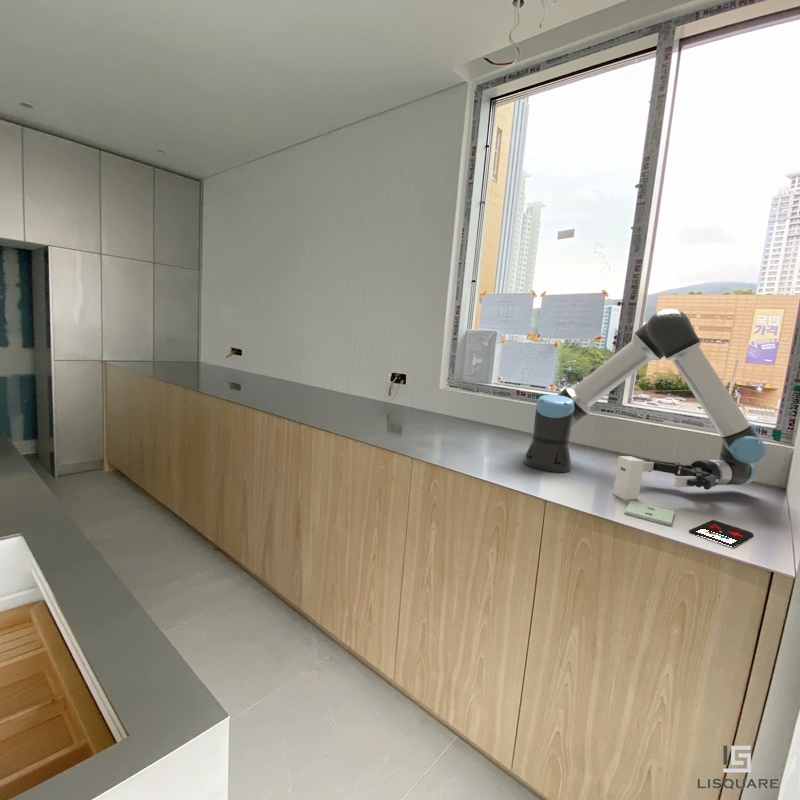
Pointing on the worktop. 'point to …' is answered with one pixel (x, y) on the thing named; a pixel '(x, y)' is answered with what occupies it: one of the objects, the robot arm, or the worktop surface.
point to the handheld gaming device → (723, 532)
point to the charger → (628, 477)
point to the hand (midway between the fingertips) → (654, 473)
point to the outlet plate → (650, 513)
